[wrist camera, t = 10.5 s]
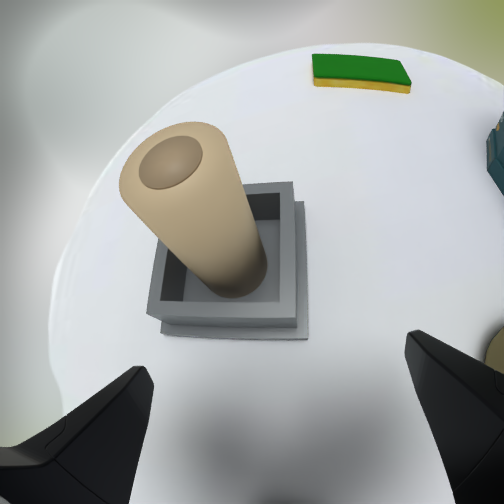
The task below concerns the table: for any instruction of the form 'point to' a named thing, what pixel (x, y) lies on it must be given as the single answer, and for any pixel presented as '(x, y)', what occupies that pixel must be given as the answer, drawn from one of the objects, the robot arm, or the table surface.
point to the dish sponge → (360, 73)
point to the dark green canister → (496, 154)
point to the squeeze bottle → (496, 352)
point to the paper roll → (197, 205)
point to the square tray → (257, 302)
